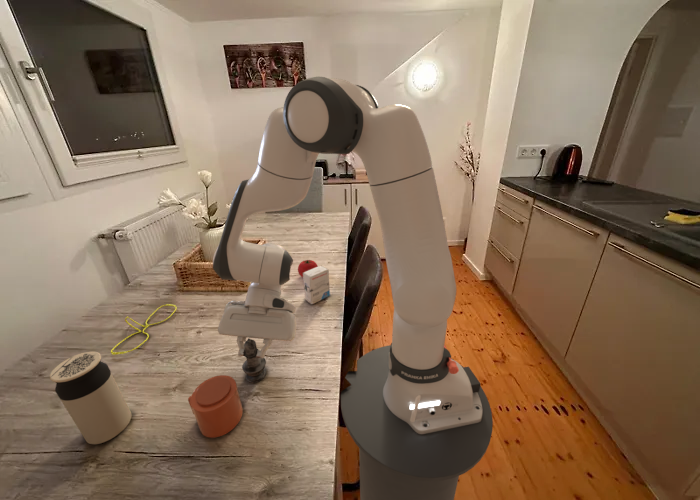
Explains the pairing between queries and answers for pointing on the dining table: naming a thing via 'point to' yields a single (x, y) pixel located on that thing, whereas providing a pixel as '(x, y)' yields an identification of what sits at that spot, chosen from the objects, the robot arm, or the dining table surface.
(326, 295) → the ink box
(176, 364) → the dining table surface
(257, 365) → the grey chess piece
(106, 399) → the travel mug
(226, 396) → the coffee cup
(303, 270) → the tomato
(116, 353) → the yellow rope bow
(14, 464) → the dining table surface
